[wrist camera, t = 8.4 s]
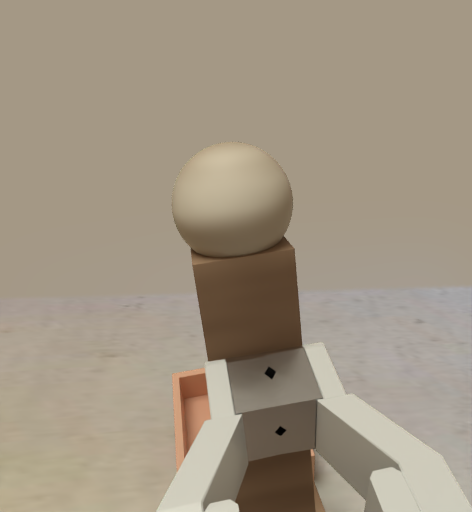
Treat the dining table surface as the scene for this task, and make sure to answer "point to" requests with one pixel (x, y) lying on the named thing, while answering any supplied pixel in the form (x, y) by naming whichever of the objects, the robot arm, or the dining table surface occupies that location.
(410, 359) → the dining table surface
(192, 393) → the pink shallow hollow tray
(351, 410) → the robot arm
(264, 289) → the lever
